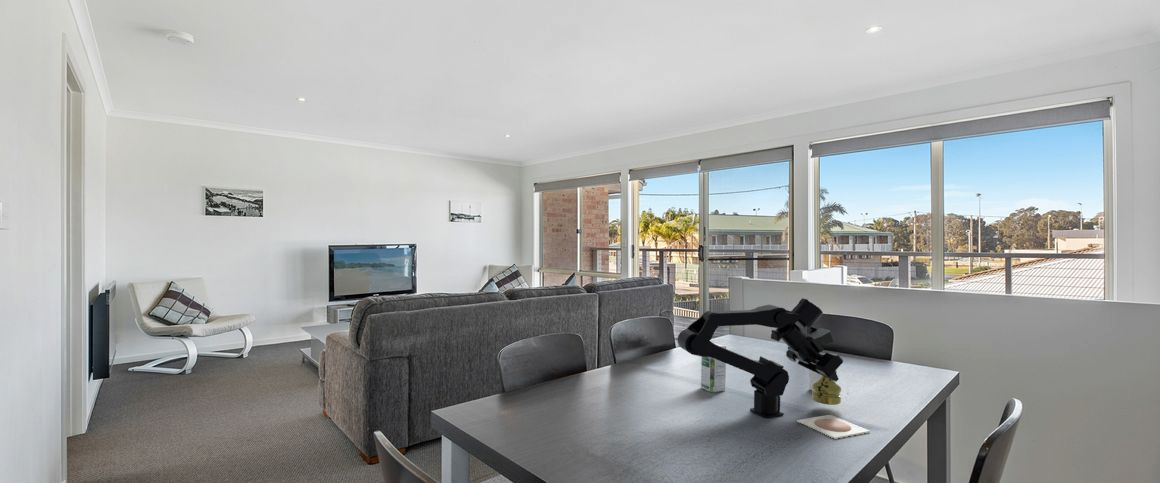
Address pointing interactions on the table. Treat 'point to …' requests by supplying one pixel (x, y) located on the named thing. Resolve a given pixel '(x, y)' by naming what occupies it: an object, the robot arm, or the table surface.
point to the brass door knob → (826, 391)
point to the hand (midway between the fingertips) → (831, 377)
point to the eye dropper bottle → (813, 378)
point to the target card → (833, 426)
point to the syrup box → (713, 374)
